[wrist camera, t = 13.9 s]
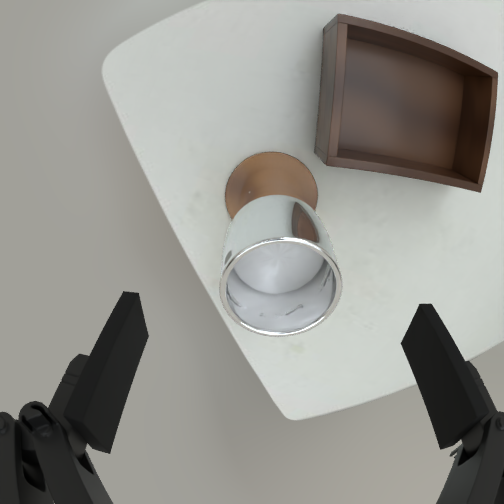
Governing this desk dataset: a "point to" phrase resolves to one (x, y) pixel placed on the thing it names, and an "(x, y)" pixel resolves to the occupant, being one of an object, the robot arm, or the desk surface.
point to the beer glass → (278, 260)
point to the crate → (403, 105)
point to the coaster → (267, 162)
